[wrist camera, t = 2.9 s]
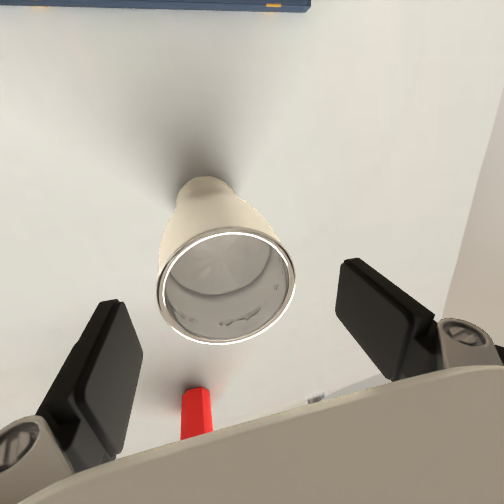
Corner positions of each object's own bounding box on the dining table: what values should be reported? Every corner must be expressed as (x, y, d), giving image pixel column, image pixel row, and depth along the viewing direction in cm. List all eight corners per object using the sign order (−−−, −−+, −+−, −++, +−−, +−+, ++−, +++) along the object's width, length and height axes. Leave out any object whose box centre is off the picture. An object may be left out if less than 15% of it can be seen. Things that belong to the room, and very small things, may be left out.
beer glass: (166, 171, 22) (135, 227, 9) (241, 170, 23) (308, 217, 10) (175, 240, 25) (162, 359, 12) (241, 236, 26) (293, 336, 13)
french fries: (211, 416, 39) (221, 530, 28) (185, 422, 38) (183, 543, 27) (208, 378, 35) (218, 494, 24) (178, 384, 34) (174, 508, 23)
